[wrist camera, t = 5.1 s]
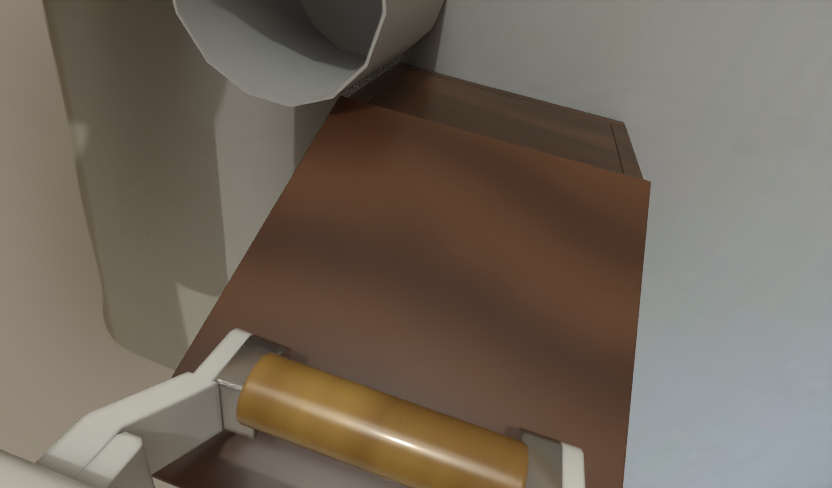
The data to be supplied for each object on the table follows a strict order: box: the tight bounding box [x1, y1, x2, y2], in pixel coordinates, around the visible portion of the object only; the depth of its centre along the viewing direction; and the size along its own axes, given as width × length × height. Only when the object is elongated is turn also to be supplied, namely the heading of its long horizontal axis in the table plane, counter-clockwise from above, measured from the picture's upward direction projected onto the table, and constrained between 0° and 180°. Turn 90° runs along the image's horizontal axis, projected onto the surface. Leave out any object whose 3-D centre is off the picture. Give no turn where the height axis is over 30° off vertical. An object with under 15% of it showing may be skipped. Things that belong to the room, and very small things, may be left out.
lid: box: [152, 96, 651, 488], centre depth 14 cm, size 14×13×4 cm
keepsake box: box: [348, 63, 644, 180], centre depth 26 cm, size 14×13×8 cm
